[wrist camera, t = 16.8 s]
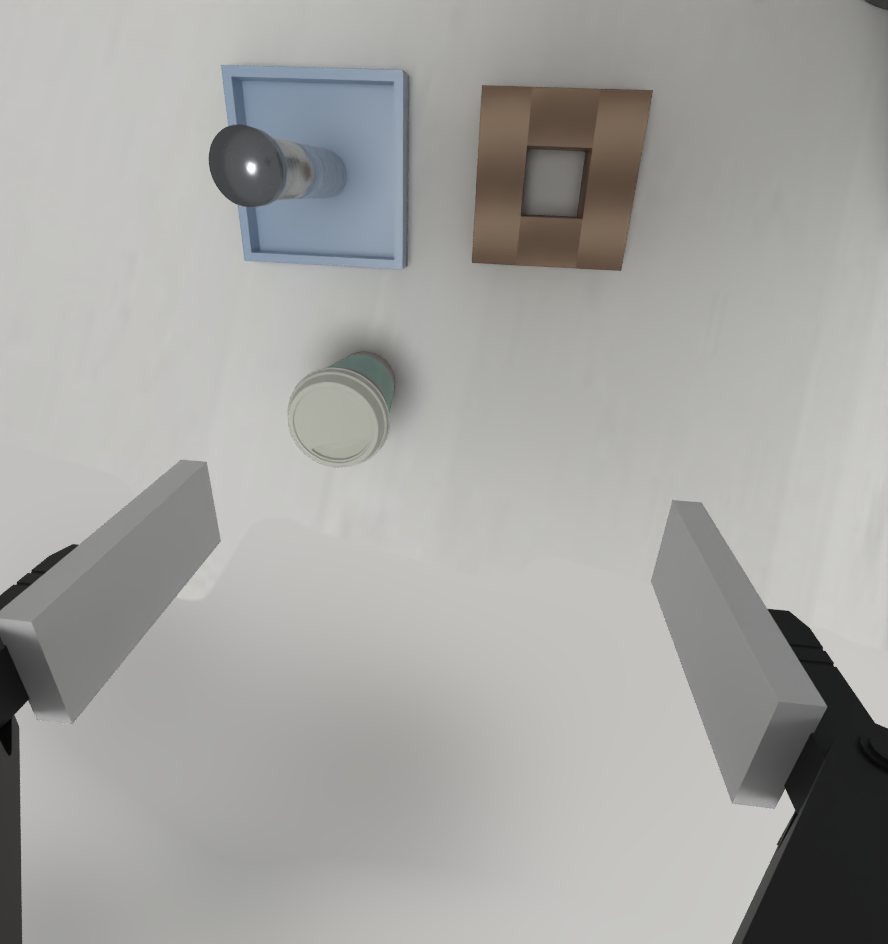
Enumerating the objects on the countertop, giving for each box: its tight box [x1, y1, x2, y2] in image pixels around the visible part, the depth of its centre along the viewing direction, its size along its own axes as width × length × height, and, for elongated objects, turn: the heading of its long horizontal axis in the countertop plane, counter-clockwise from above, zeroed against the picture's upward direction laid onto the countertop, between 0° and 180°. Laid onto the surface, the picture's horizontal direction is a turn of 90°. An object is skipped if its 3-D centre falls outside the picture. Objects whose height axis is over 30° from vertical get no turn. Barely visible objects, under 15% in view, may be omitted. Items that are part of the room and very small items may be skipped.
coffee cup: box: [288, 352, 395, 467], centre depth 50 cm, size 8×9×12 cm
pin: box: [209, 124, 346, 207], centre depth 39 cm, size 4×4×16 cm
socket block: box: [472, 85, 653, 271], centre depth 44 cm, size 12×12×4 cm
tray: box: [221, 65, 408, 269], centre depth 46 cm, size 14×14×2 cm
